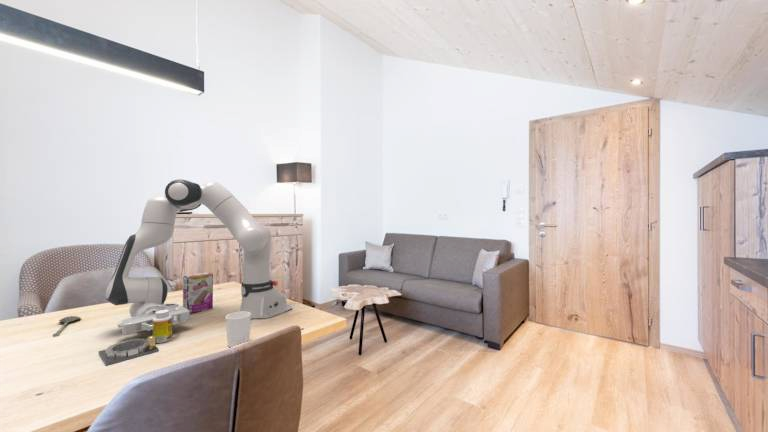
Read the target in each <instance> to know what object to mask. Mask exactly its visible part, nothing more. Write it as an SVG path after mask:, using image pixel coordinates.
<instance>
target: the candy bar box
mask: <svg viewBox="0 0 768 432" xmlns="http://www.w3.org/2000/svg"><path fill="white" fill-rule="evenodd" d="M213 299H214V273H212V272H201V273H195V274H193V273H192V274H186V275H183V276H182V307H184V308H186V309H188V310H189V313H190V314H194V313H199V312H202V311H207V310H211V309H212V310H213V307H214V306H213V305H214V301H213Z"/></svg>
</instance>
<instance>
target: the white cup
mask: <svg viewBox="0 0 768 432" xmlns="http://www.w3.org/2000/svg"><path fill="white" fill-rule="evenodd" d="M251 319H252V318H251V313H250V312H246V311H241V312H240V311H235V312H230V313H228V314H226V315H225V331H226V339H227V347H228V348H230V347H233V346H236V345H239V344H242V343H245V342H248V341H249V342H250V338H251V337H250V336H251V324H252V323H251V321H252V320H251Z"/></svg>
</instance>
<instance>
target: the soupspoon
mask: <svg viewBox="0 0 768 432" xmlns="http://www.w3.org/2000/svg"><path fill="white" fill-rule="evenodd" d="M81 319H82V317H80V316H75V315H74V316H73V315H70V316H66V317H63V318H61V319H59V320H58V322H61V323H63V324H62V325H61V327H60V328H59V329H58V330H56V332H55V333H53V334H52V337H53V338H54V337H59V336H60V333H61V331H62V330H63V329H64V328H65V326H66V325H68V323H70V322H74V321H76V320H81Z"/></svg>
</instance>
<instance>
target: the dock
mask: <svg viewBox="0 0 768 432" xmlns="http://www.w3.org/2000/svg"><path fill="white" fill-rule="evenodd" d="M159 350H160V349H159V347H158V346H156V343H155V335H153V334H151V335H149V336H147V338H132V339H128V340H123V341H119V342H117V343H113V344H111V345H109V346H108V347H107V348H105V349H102V350H99V351H98V355H99V357H100V358H101V360H102V361H103V364H104V365H105V366H110V365H113V364H117V363H121V362H124V361H128V360H131V359H136V358H139V357H143V356H145V355H147V356H148V355H149V354H153V353H158V352H159Z"/></svg>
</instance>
